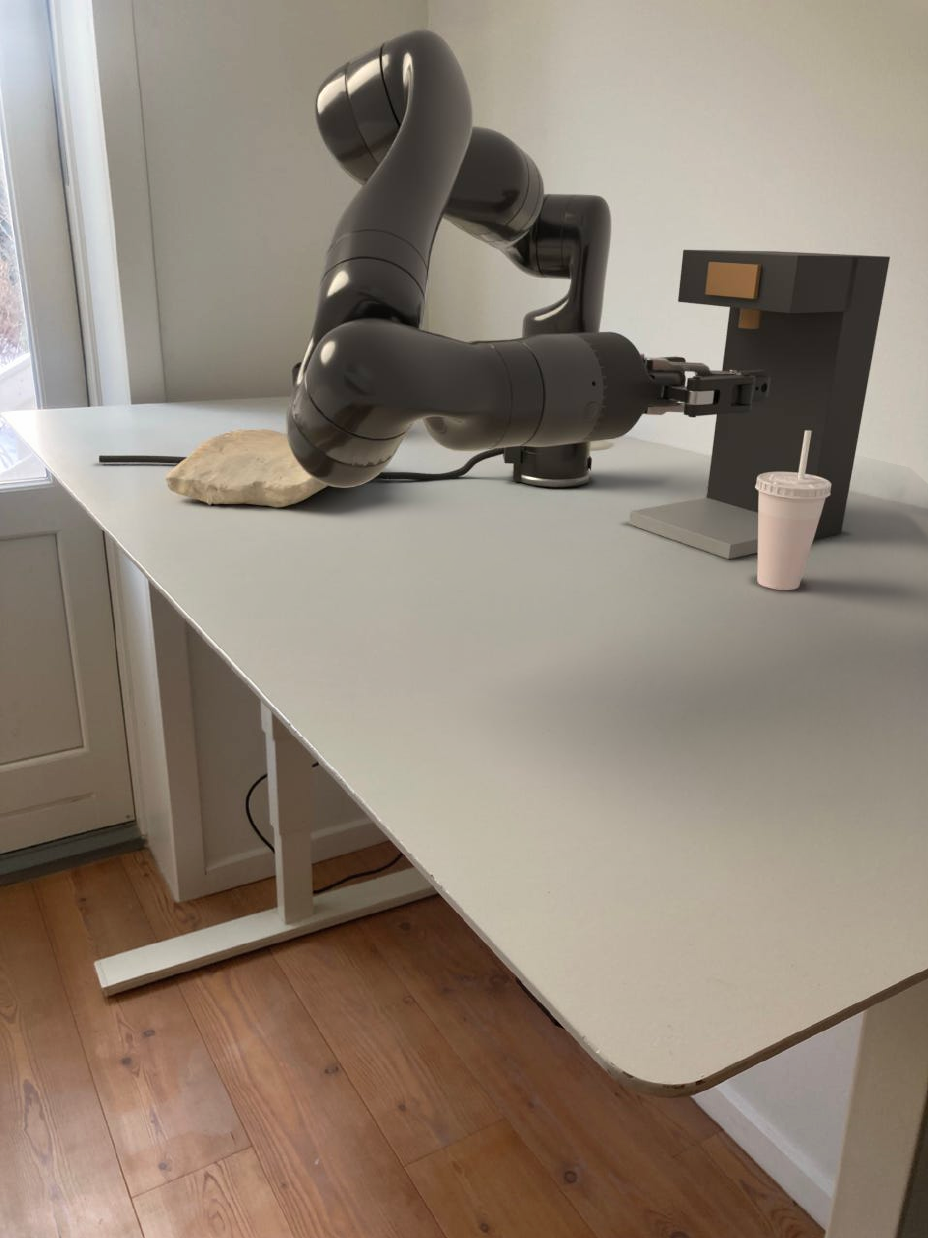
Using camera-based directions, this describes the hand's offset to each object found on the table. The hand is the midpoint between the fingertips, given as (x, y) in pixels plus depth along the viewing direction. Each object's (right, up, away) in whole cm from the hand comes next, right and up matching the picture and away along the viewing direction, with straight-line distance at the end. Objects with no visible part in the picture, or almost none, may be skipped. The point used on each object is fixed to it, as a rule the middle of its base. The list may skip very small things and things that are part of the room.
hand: (721, 377), depth 78 cm
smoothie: (+9, -16, +13) cm, 22 cm away
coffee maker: (+9, -9, +29) cm, 32 cm away
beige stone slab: (-42, -3, +42) cm, 59 cm away
